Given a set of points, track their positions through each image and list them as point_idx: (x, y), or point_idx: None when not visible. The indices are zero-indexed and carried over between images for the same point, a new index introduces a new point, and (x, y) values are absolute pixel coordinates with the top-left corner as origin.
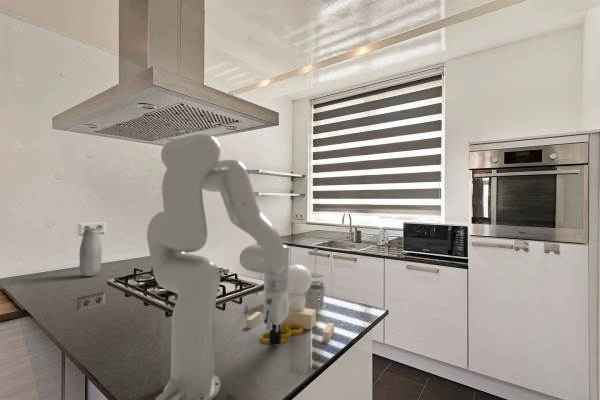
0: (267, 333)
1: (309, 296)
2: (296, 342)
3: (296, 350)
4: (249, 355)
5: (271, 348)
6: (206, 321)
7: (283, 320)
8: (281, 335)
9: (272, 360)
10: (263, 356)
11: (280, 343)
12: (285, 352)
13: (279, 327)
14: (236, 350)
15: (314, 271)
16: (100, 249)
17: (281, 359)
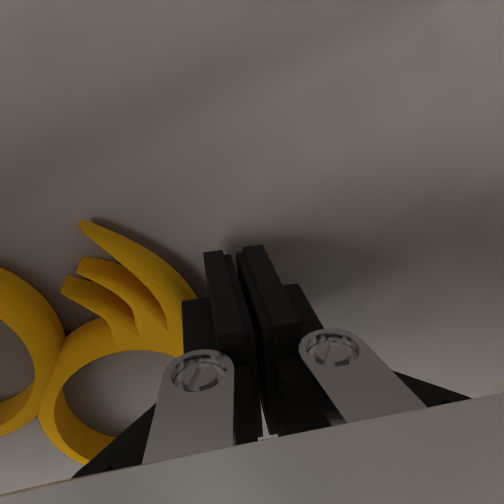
0: (91, 457)
1: None
2: (15, 107)
3: (213, 8)
4: (451, 357)
5: (290, 282)
6: None
7: (357, 431)
8: (39, 330)
9: (487, 160)
10: (441, 264)
11: (163, 260)
12: (310, 118)
13: (235, 384)
14: None
15: None
16: None
17: (454, 87)
